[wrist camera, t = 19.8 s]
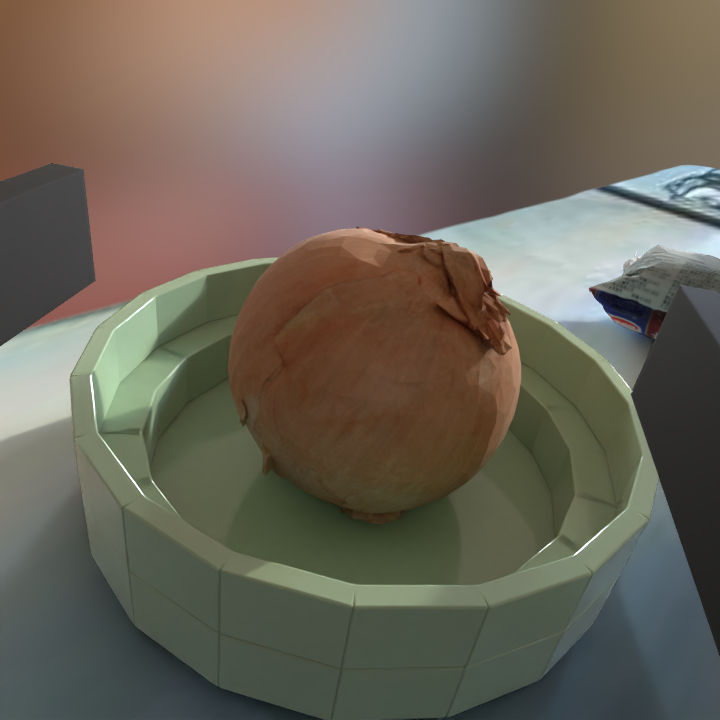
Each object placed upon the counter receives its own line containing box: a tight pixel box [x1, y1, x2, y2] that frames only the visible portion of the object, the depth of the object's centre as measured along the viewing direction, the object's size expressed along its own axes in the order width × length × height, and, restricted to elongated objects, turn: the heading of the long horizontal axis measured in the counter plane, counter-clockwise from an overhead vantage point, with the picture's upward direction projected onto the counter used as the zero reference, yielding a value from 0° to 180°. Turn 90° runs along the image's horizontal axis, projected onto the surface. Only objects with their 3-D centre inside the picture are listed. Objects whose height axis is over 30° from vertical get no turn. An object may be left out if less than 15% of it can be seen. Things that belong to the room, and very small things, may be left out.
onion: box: [228, 227, 521, 525], centre depth 20 cm, size 10×9×10 cm
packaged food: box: [589, 245, 720, 339], centre depth 35 cm, size 9×12×5 cm
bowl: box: [70, 258, 659, 720], centre depth 21 cm, size 18×18×5 cm
